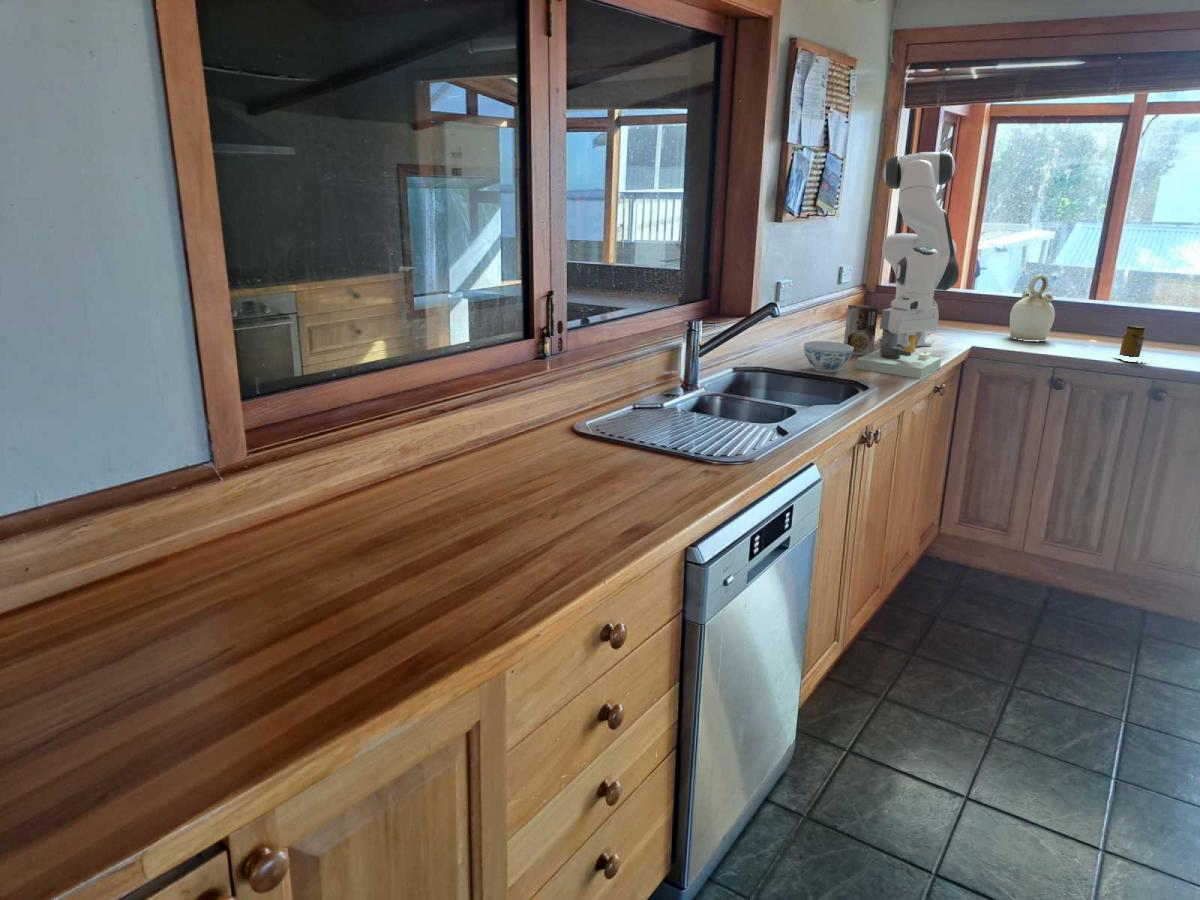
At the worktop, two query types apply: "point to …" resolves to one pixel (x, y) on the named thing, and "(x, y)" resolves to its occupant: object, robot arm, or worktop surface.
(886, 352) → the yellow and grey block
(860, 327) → the coffee box
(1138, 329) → the condiment
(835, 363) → the chinaware
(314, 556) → the worktop surface
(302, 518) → the worktop surface
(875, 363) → the green base post mechanism
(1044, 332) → the jug
